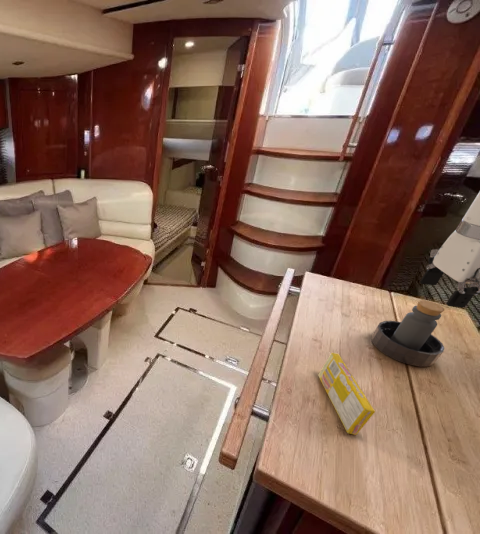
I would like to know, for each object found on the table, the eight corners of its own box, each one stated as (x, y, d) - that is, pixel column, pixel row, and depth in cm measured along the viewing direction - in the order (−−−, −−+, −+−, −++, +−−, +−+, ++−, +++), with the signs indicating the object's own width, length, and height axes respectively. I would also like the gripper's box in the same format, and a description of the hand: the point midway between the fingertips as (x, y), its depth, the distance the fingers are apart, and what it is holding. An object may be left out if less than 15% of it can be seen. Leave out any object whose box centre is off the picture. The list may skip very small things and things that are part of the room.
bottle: (389, 338, 88) (417, 296, 81) (417, 349, 85) (449, 306, 77) (385, 347, 85) (413, 305, 78) (414, 359, 81) (446, 315, 74)
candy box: (358, 436, 64) (376, 412, 60) (346, 433, 65) (363, 409, 61) (326, 376, 78) (339, 353, 74) (317, 374, 78) (329, 351, 74)
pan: (414, 338, 89) (423, 325, 86) (446, 372, 78) (457, 358, 76) (361, 330, 92) (369, 317, 90) (385, 362, 81) (394, 348, 79)
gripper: (544, 249, 59) (488, 318, 68) (473, 218, 73) (435, 278, 82) (493, 246, 61) (445, 313, 69) (434, 216, 75) (401, 275, 84)
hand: (440, 294), depth 76 cm, fingers open, 9 cm apart
